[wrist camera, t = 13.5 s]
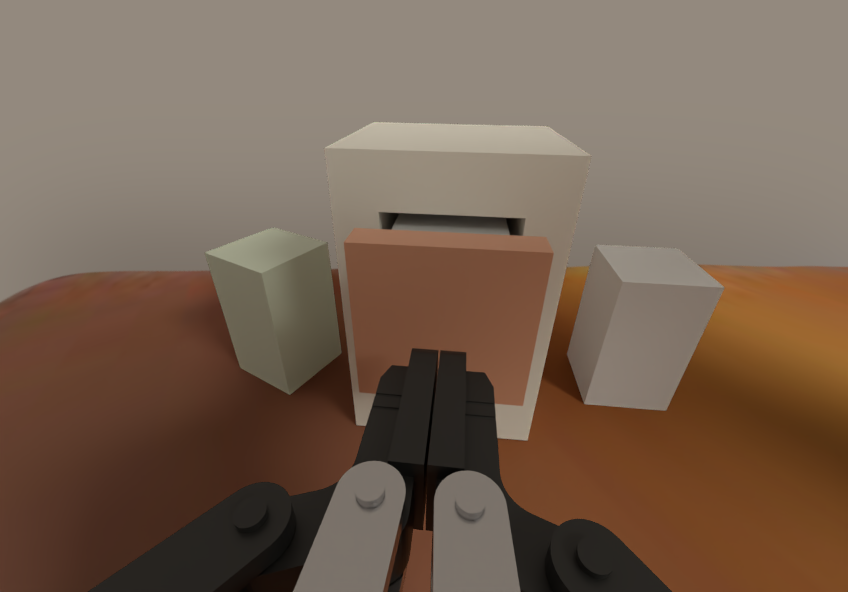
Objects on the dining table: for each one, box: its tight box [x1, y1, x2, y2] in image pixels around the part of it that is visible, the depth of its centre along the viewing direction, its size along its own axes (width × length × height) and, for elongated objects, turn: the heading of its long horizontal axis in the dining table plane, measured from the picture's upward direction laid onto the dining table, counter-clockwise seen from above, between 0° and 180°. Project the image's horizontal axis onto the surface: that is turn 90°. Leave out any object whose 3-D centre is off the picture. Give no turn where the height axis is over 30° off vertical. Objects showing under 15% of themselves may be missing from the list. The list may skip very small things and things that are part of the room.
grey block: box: [567, 245, 724, 411], centre depth 21 cm, size 4×4×8 cm
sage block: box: [205, 228, 342, 395], centre depth 23 cm, size 4×4×8 cm
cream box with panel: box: [324, 122, 591, 441], centre depth 20 cm, size 8×9×14 cm
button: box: [344, 213, 554, 406], centre depth 16 cm, size 9×6×6 cm, turn 174°
